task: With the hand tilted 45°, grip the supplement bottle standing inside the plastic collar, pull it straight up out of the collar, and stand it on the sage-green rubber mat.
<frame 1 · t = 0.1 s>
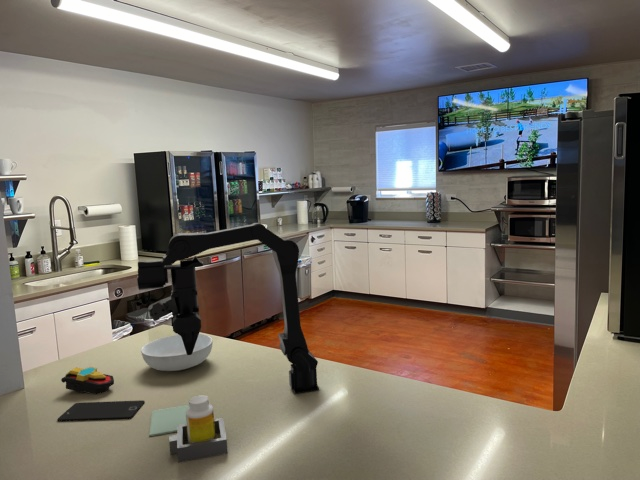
hand: (189, 348, 118), 15 cm above the countertop, fingers open, 9 cm apart
gadget: (91, 391, 132), on the countertop
serving bowl: (179, 366, 147), on the countertop
mat: (178, 419, 113), on the countertop
supplement bottle: (202, 446, 101), resting in collar
collar: (202, 445, 101), on the countertop
cell phone: (102, 413, 119), on the countertop
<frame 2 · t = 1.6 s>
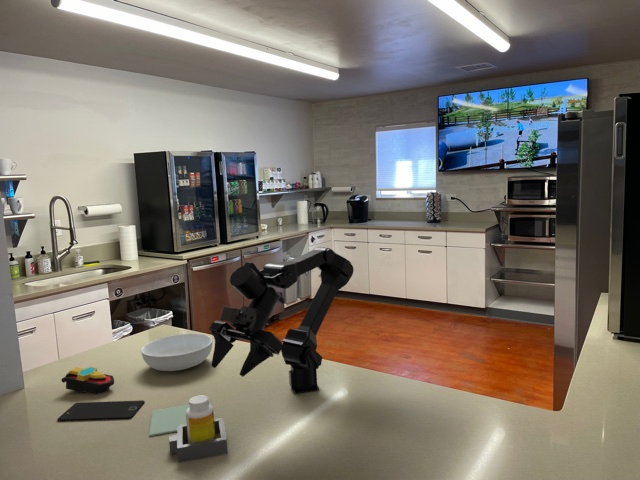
hand: (226, 371, 106), 13 cm above the countertop, fingers open, 9 cm apart
nothing on the countertop moved.
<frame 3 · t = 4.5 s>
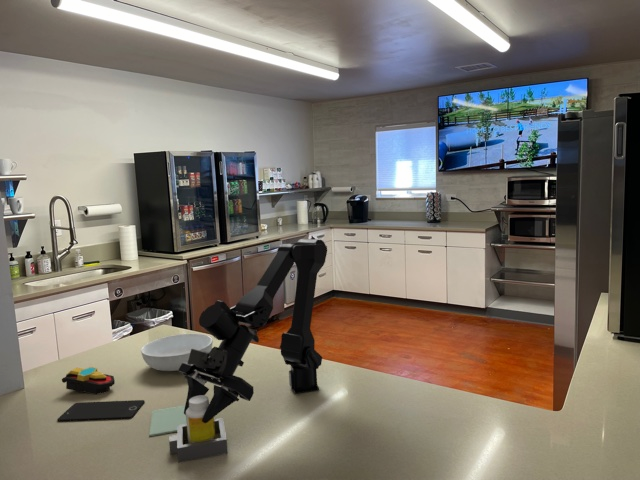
hand: (194, 418, 99), 7 cm above the countertop, fingers closed on supplement bottle, 6 cm apart
supplement bottle: (202, 446, 101), resting in collar, touching gripper
everything else where it was.
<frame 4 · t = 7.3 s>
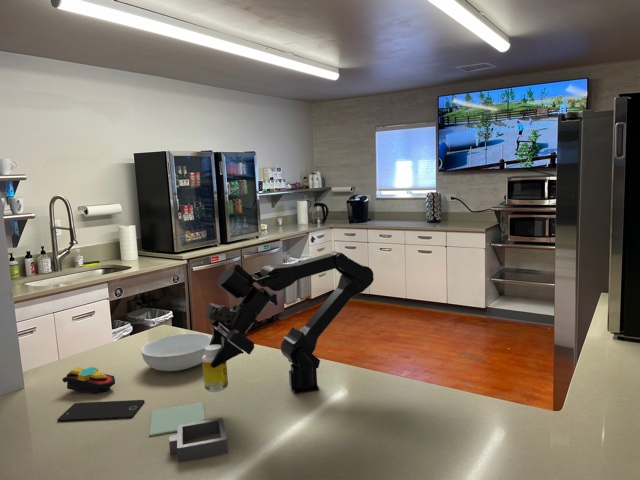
hand: (208, 362, 115), 12 cm above the countertop, fingers closed on supplement bottle, 6 cm apart
supplement bottle: (216, 388, 116), point 5 cm above the countertop, touching gripper
everything else where it was.
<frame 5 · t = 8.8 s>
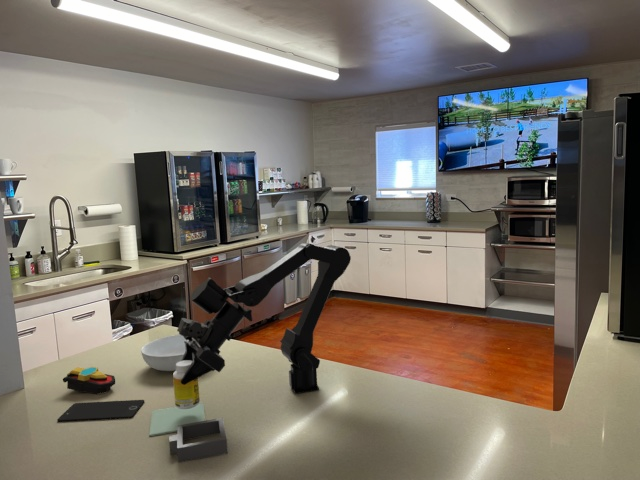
hand: (179, 379, 112), 10 cm above the countertop, fingers closed on supplement bottle, 6 cm apart
supplement bottle: (187, 405, 114), point 3 cm above the countertop, touching gripper
everything else where it was.
when the fingers open (8 cm above the countertop, at t = 10.2 s): supplement bottle drops 1 cm, resting on mat.
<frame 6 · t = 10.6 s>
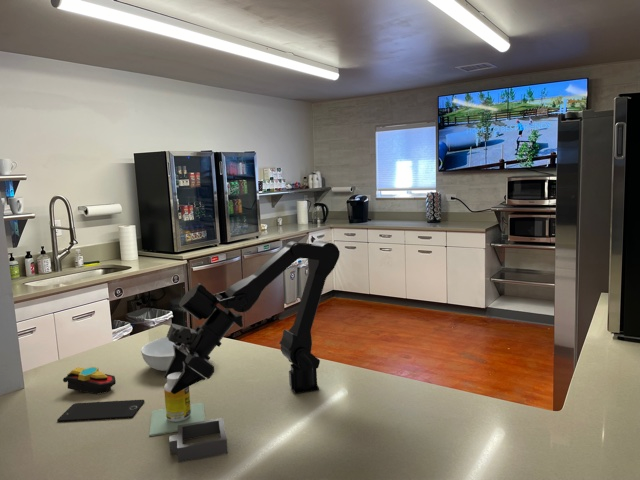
hand: (168, 385, 111), 9 cm above the countertop, fingers open, 9 cm apart
supplement bottle: (179, 417, 113), resting on mat
everything else where it was.
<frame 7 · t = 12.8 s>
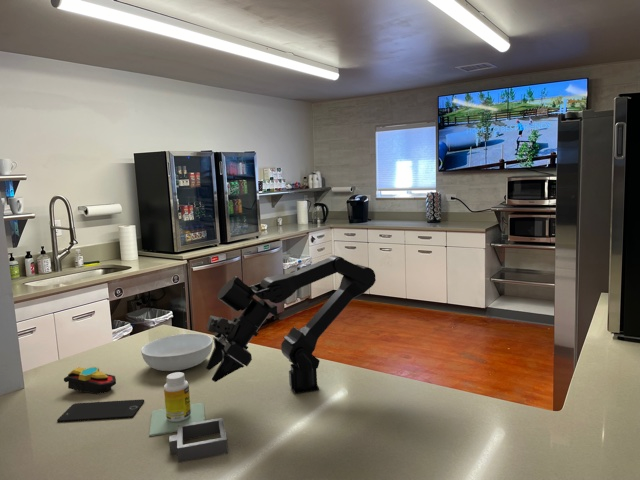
hand: (210, 374, 116), 9 cm above the countertop, fingers open, 9 cm apart
nothing on the countertop moved.
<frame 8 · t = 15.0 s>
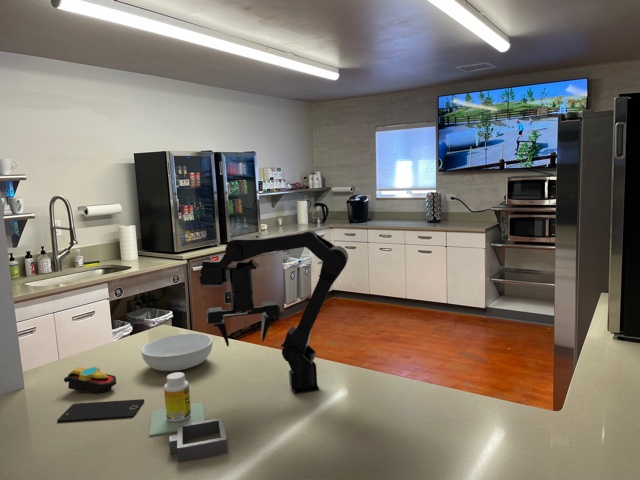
hand: (245, 343, 128), 12 cm above the countertop, fingers open, 9 cm apart
nothing on the countertop moved.
at the end: supplement bottle inside the target area (0.2 cm from its centre), resting on mat; supplement bottle tilted 0°; the gripper is holding nothing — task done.
